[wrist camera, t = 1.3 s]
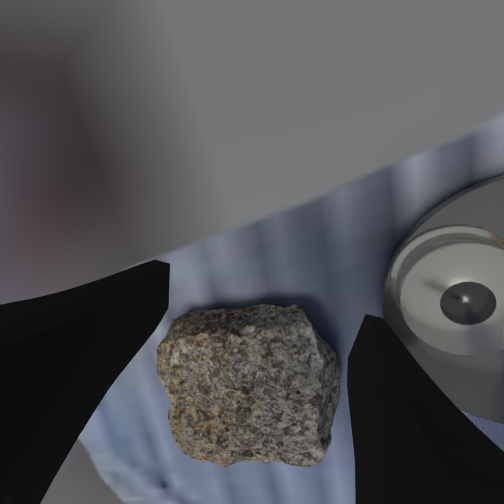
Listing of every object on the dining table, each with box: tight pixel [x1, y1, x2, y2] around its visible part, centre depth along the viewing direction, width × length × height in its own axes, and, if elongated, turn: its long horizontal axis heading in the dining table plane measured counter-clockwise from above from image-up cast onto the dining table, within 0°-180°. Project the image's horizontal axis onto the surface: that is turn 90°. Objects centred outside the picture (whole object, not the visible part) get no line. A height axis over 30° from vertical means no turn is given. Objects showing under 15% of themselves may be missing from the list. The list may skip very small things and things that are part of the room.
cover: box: [390, 224, 504, 355], centre depth 16 cm, size 6×6×3 cm
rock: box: [157, 303, 340, 467], centre depth 24 cm, size 13×6×15 cm
